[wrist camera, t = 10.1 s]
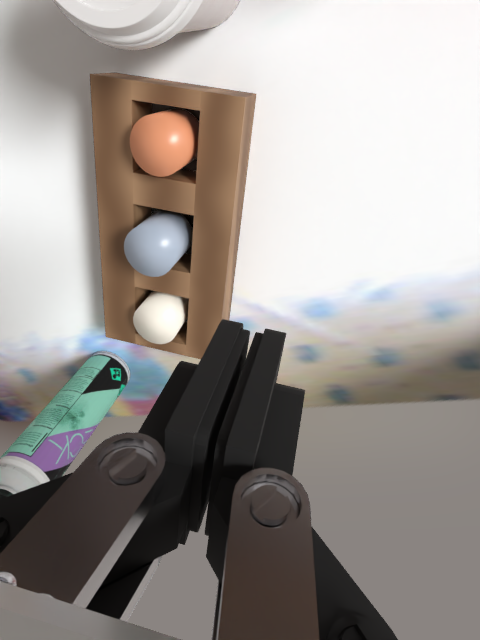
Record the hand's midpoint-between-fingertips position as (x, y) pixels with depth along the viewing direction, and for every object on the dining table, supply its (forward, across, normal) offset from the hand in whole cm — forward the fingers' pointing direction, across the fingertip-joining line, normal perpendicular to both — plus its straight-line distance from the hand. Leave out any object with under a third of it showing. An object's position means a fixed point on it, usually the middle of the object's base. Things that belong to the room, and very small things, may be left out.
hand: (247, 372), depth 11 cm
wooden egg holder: (+29, +12, +8) cm, 32 cm away
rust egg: (+28, +12, 0) cm, 31 cm away
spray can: (+29, +20, +28) cm, 45 cm away
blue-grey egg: (+27, +12, +8) cm, 31 cm away
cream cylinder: (+28, +12, +16) cm, 35 cm away
